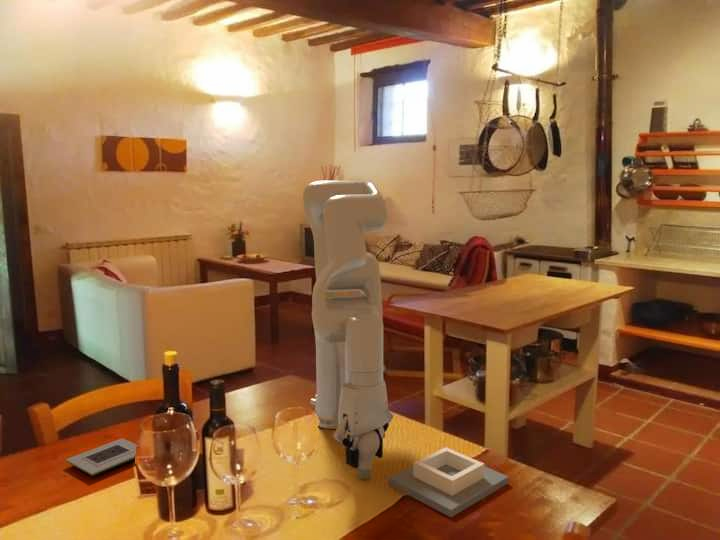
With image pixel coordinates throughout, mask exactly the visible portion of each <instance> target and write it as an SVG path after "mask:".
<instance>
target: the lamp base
mask: <svg viewBox="0 0 720 540" xmlns="http://www.w3.org/2000/svg"><path fill="white" fill-rule="evenodd" d="M412 463H413V465H412V466H410V467H408V468H406V469H403V470H401V471H400V472H397V473H395V474H393V475H391V476H389V477H388V485H389V486H391V487H392V488H394V489H397V490H399V491H400V492H402V493H404V494H406V495H407V496H409V497H411V498H414V499H415V500H417V501H419V502H421V503H422V504H423V505H424V504H425V505H426V506H428V507H430V508H432V509H434V510H436V511H438V512H440V513H441V514H444V515H446V516H447V517H449V518H452V517H454V516H456V515H458V514H459V513H461V512H463V511H464V510H466V509H467V508H469V507H471V506H473V505H475V504H477V503H478V502H480V501H481V500H483V499H485V498H486V497H488V496H489V495H492V494H493V493H495V492H497V491H499V489H501V488H504V487H505V486H506V485H508V484H509V476H508V475H506V474H503V473H501V472H499V471H496V470H494V469H492V468H490V467H487V466H485V463H484V462H482V461H479V460H477V459H474V458H473V457H469V456H467V455H465V454H463V453H461V452H458V451H456V450H454V449H451V448H449V447H446V446H445V447H443V448H441V449H439V450H436V451H434V452H433V453H430V454H428V455H426V456H424V457H422V458H420V459H418V460H415V461H413V462H412Z"/></svg>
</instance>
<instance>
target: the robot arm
mask: <svg viewBox="0 0 720 540" xmlns="http://www.w3.org/2000/svg"><path fill="white" fill-rule="evenodd" d="M302 193H303V194H302V200H303V201H302V202H303V203H302V204H303V209H304V214H305V217H306V219H307V222H308V224H309V227H310V229H311V233H312V236H313V244H314V245H313V250H314V269H315V271H314V272H315V280H316V281H315V282H314V286H313V289H312V295H311V296H312V297H311V302H312V303H311V306H312V307H311V318H312V319H311V320H312V325H313V326H312V327H313V332H314V338H315V339H314V340H315V363H316V365H315V367H316V373H315V374H316V394H315V395H314V397H313V398H311V399H310V400H309V401H310V402H309V403H310V404H311V405H313V406H314V409H315V410H314V411H313V412H315V413H316V414H317V416H318V421H319V426H318V427H319V428H323V429H329V430H335V431H334V432H333V434H332V435H333V438H334V439H335V440H336V441H337V442H339V443H340V444H341V445H342V446H343V447H345V464H346V465H348V466H349V467H351V468H352V469H355V470H358V467H359V451H358V449H356V446H357V443H358V439H359V436H360V435H362V434H364V433H367V432H370V431H372V430H375V431H376V433H377V434H378V436H379V440H380V445H379V448H378V450H377V452H376V454H375V456H374V457H377V458H378V459H382V458H384V454H383V453H384V447H383V445H384V444H383V442H384V439H385V437H386V432H387V430H388V428H389V426H390V423H391V422H392V420H393V418H394V415H393V413H392V412H390V410H389V406H388V405H389V403H388V393H387V385H386V381H385V379H384V371H386V367H385V365H384V321H383V302H382V301H383V300H382V299H383V298H382V297H383V296H382V283H381V280H382V279H381V268H380V266H379V265H380V264H379V261H378V259H377V258H376V256H375V255H374V254H373V253H371V252H367V247H366V242H365V241H366V239H365V233H367V232H382V231H383V230H384V229H385V228H386V227H387V223H388V209H387V204H386V202H385V198H384V197H383V194H382V193H381V192H380V190H379V189H378V188H377V187H376V185H375V184H374V183H373V182H371V181H369V180H360V179H359V180H352V179H351V180H349V179H348V180H338V179H337V180H331V179H330V180H317V181H314V182H310V183H308V184H307V185H306V186H305V187H304V189H303V192H302ZM364 232H365V233H364ZM351 291H359V292H360V293H361V295H346V296H345V295H344V296H342V295H340V296H328V297H327V296H326V294H327V292H351ZM351 436H353V438H352V442H351V441H350V438H351Z"/></svg>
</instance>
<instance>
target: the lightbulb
mask: <svg viewBox="0 0 720 540" xmlns="http://www.w3.org/2000/svg"><path fill="white" fill-rule="evenodd" d="M352 438H353V436H351V438H350V441H351V442H352ZM379 445H380V440H379V436H378V434H377V433H376V431H375V430H372V431H370V432H367V433H364V434H362V435H360V436H359V439H358V443H357V446H356V449H358V451H359V467H358V468H357V472H358V473H357V474H358V477H359V478H360V479H362V480H367V479H368V478H370V477H371V473H372V467H373V461H374V458H375V457H376V456H375V454H376V452H377V450H378V448H379Z"/></svg>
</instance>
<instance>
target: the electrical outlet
mask: <svg viewBox="0 0 720 540" xmlns="http://www.w3.org/2000/svg"><path fill="white" fill-rule="evenodd" d="M136 447H137V444H136V443H134V442H132V441H129V440H128V439H125V438H119V439H116V440H112V441H111V442H108V443H104V444H103V445H99V446H98V447H95V448H92V449H90V450H88V451H85V452H82V453H80V454H77V455H74V456H71V457H69V458H67V459H65V462H67V463H69V464H70V465H72V466H74V467H76V468H78V469H79V470H81V471H83V472H85V473H86V474H88V475H90V476H92V477H95V476H97V475H100V474H102V473H104V472H107V471H109V470H111V469H112V470H113V469H114V468H117V467H119V466H122V465H123V464H126V463H129V462H131V461H133V459H134V458H135V454H136ZM134 460H135V459H134Z"/></svg>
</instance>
